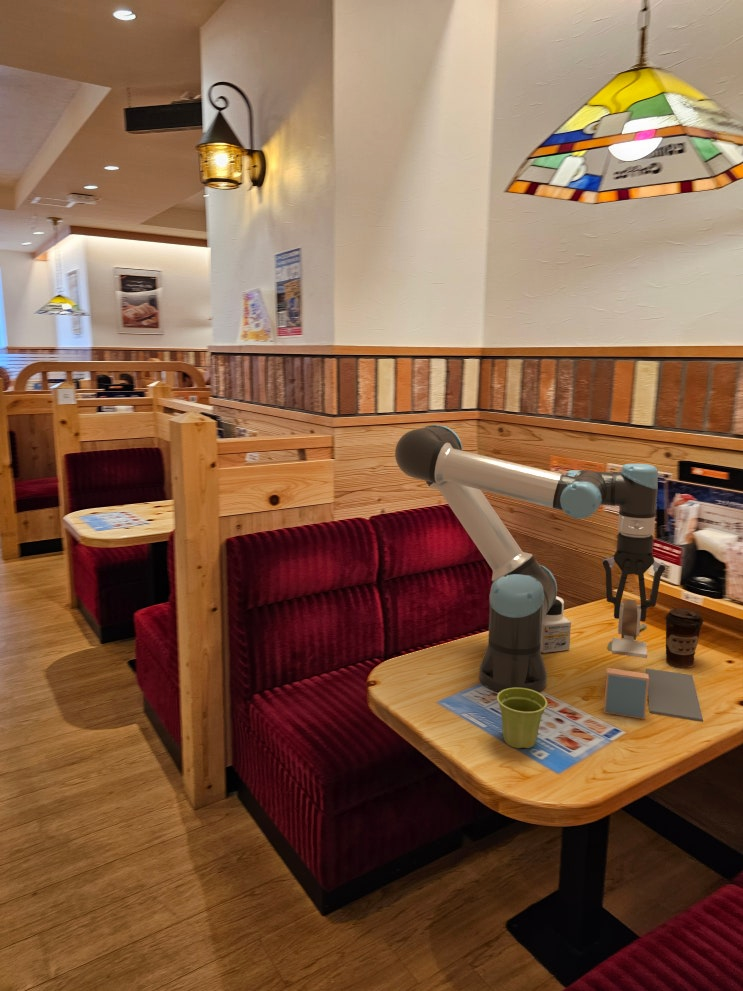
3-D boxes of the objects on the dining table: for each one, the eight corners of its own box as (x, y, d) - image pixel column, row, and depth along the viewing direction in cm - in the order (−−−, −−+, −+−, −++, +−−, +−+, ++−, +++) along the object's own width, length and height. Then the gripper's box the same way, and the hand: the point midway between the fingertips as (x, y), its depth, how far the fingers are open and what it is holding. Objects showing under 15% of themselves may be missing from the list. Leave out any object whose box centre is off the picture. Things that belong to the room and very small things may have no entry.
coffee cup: (703, 672, 157) (709, 620, 155) (665, 669, 159) (670, 617, 156) (693, 657, 166) (698, 607, 163) (657, 654, 167) (662, 604, 165)
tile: (603, 713, 139) (606, 672, 137) (603, 707, 141) (607, 667, 139) (645, 720, 136) (648, 679, 135) (644, 714, 139) (648, 673, 137)
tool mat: (649, 712, 139) (649, 710, 139) (645, 670, 158) (645, 668, 158) (702, 721, 136) (702, 719, 136) (692, 676, 155) (692, 674, 155)
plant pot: (553, 739, 129) (556, 698, 127) (529, 760, 122) (532, 717, 120) (510, 722, 135) (512, 682, 133) (485, 741, 128) (487, 700, 126)
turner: (611, 653, 143) (613, 627, 142) (612, 621, 161) (614, 597, 160) (647, 658, 141) (649, 631, 139) (643, 625, 159) (645, 601, 157)
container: (542, 653, 167) (545, 603, 165) (527, 641, 174) (529, 594, 172) (570, 650, 169) (572, 601, 167) (553, 638, 176) (556, 591, 174)
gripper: (597, 534, 148) (591, 634, 152) (676, 540, 143) (667, 643, 147) (598, 527, 155) (592, 622, 159) (673, 532, 150) (665, 631, 154)
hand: (628, 632), depth 153 cm, fingers closed on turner, 3 cm apart
